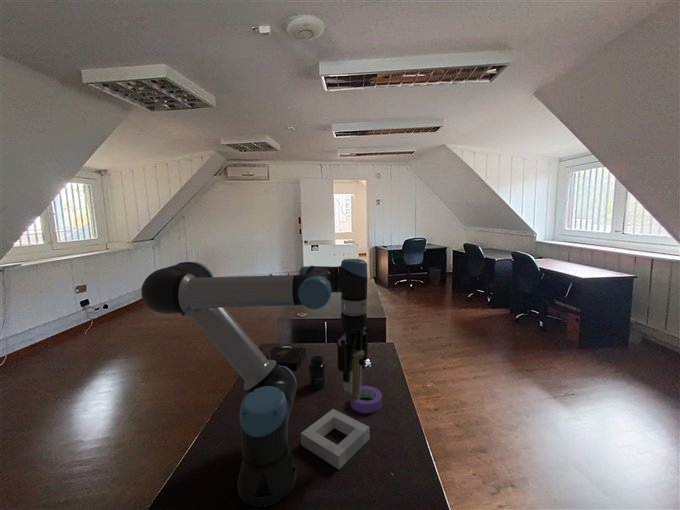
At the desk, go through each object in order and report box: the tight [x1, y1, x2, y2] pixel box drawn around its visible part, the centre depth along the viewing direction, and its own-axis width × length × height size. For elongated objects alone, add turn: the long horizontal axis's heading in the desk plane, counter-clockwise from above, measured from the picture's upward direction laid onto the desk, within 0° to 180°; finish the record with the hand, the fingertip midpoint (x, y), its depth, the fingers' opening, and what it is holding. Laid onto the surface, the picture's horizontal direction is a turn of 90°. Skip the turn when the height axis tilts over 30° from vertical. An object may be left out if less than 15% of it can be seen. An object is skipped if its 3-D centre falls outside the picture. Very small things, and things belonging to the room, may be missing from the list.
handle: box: [346, 349, 364, 402], centre depth 92 cm, size 5×6×15 cm
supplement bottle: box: [308, 355, 326, 390], centre depth 126 cm, size 7×7×12 cm
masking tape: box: [349, 385, 383, 414], centre depth 114 cm, size 12×12×4 cm
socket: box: [300, 408, 371, 470], centre depth 94 cm, size 15×15×4 cm
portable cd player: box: [265, 346, 307, 371], centre depth 149 cm, size 16×17×4 cm
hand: (352, 387), depth 92 cm, fingers closed on handle, 4 cm apart
